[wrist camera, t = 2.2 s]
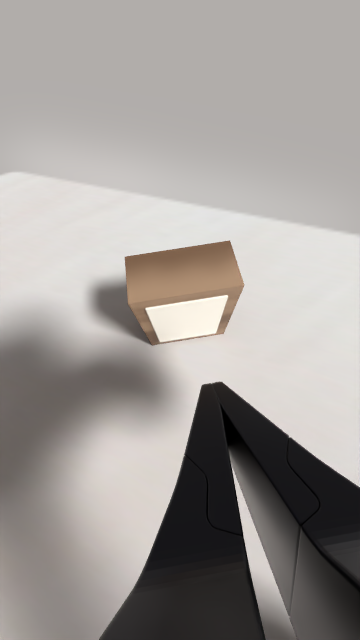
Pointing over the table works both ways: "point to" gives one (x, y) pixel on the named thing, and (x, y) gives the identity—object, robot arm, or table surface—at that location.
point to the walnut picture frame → (184, 291)
